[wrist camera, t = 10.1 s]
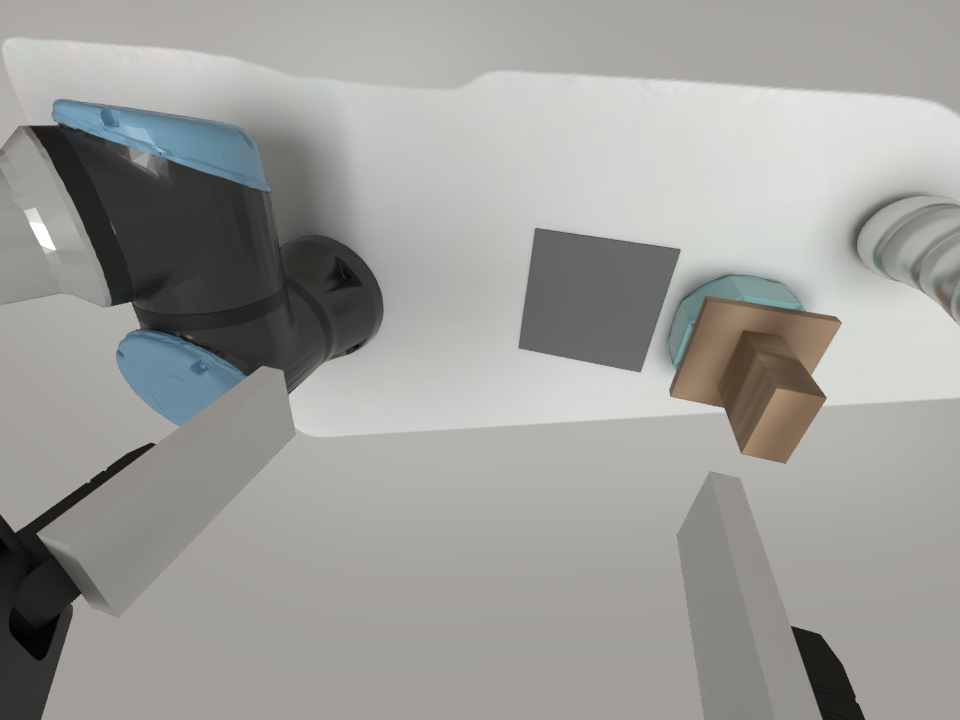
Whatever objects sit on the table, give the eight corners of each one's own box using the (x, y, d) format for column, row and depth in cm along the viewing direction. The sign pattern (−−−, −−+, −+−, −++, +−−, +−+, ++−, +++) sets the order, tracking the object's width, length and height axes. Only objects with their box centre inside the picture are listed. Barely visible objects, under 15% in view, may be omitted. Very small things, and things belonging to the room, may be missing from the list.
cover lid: (669, 389, 42) (683, 461, 33) (705, 295, 37) (732, 352, 28) (780, 412, 40) (825, 494, 32) (835, 316, 35) (906, 384, 26)
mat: (519, 347, 51) (518, 348, 51) (535, 228, 43) (535, 229, 43) (640, 371, 48) (640, 372, 48) (680, 249, 41) (680, 250, 41)
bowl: (657, 362, 47) (662, 392, 42) (691, 266, 41) (701, 288, 36) (766, 383, 45) (785, 418, 40) (817, 285, 39) (846, 311, 34)
